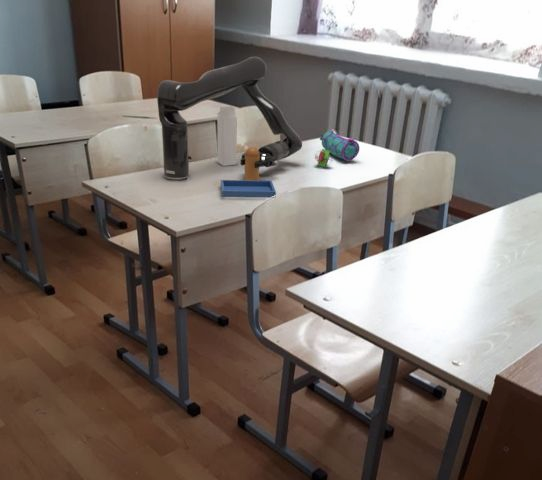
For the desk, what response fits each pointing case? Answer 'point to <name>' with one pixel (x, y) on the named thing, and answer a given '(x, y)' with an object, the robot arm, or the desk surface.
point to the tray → (247, 188)
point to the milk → (226, 136)
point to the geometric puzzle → (322, 157)
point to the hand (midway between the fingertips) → (248, 164)
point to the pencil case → (340, 145)
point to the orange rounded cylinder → (251, 164)
